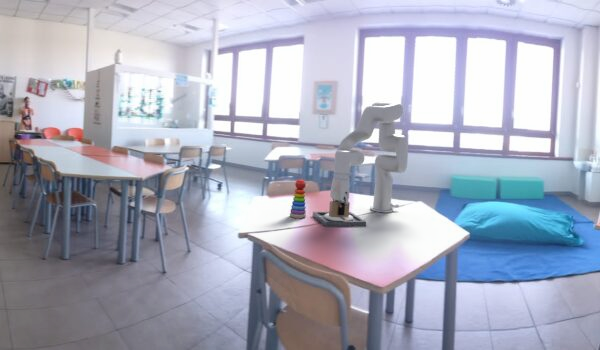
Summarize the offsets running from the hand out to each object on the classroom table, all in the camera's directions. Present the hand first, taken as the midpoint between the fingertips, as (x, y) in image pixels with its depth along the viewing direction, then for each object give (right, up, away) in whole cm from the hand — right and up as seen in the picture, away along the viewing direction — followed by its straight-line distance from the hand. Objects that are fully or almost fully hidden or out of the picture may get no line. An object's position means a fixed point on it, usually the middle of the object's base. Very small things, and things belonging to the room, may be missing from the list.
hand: (338, 213), depth 190 cm
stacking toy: (-20, -2, +4) cm, 20 cm away
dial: (0, -2, 0) cm, 2 cm away
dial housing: (0, -4, +1) cm, 4 cm away
